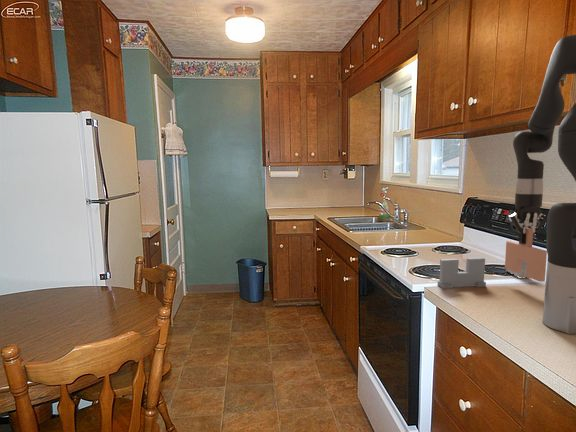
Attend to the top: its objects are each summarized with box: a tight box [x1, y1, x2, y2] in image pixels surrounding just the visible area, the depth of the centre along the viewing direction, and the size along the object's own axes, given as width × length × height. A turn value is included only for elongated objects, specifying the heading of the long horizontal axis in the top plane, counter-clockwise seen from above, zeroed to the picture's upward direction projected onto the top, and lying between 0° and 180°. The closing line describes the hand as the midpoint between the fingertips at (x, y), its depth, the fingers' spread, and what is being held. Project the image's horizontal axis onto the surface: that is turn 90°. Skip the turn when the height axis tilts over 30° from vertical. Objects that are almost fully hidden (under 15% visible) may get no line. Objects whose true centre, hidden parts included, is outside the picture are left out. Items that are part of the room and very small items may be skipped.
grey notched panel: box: [437, 257, 487, 290], centre depth 127 cm, size 16×4×10 cm, turn 96°
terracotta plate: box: [504, 227, 548, 283], centre depth 119 cm, size 16×2×16 cm, turn 5°
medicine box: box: [505, 260, 527, 277], centre depth 138 cm, size 8×4×9 cm, turn 179°
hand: (525, 243), depth 119 cm, fingers closed on terracotta plate, 1 cm apart
